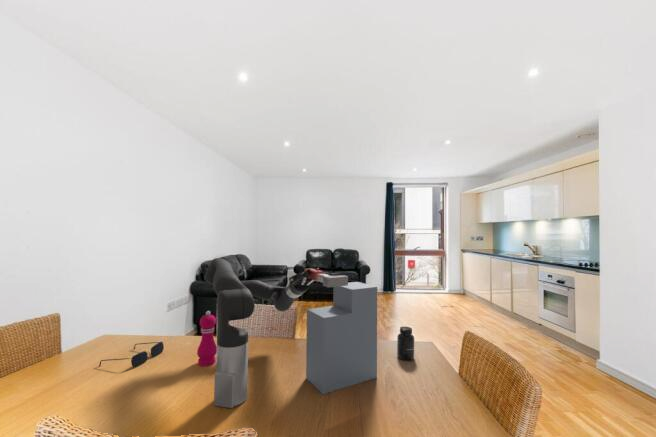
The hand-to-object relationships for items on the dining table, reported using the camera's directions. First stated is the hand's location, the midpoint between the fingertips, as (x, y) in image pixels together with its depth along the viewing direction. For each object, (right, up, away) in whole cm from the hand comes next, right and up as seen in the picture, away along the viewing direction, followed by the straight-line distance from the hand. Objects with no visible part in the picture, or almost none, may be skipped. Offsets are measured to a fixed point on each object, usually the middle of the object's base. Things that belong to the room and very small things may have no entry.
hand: (314, 270), depth 116 cm
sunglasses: (-73, -37, +6) cm, 82 cm away
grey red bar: (+3, -3, -5) cm, 7 cm away
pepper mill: (-42, -37, +3) cm, 56 cm away
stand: (+10, -36, -8) cm, 39 cm away
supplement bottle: (+37, -38, +10) cm, 54 cm away
